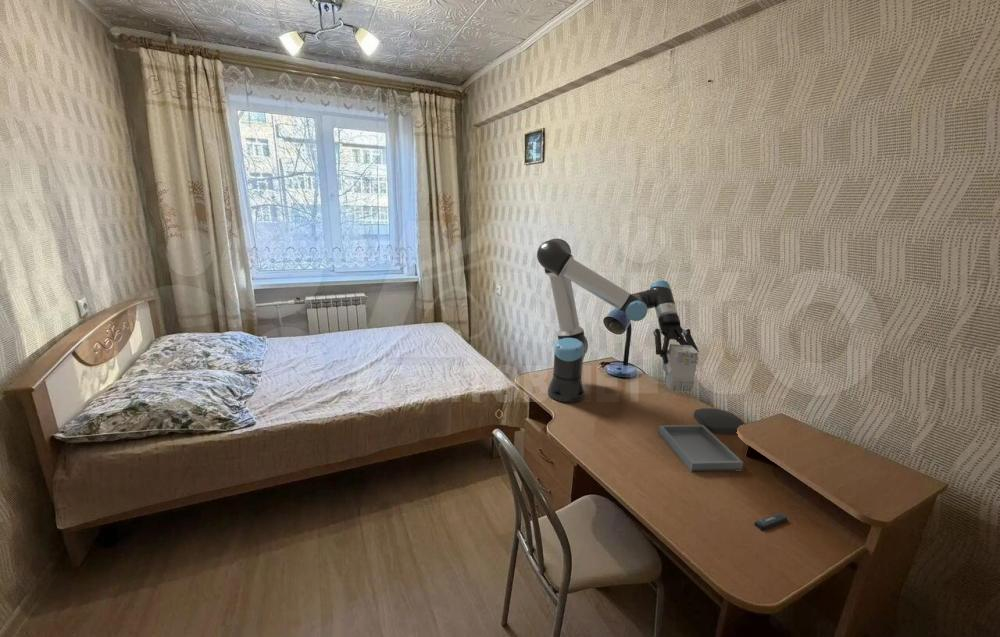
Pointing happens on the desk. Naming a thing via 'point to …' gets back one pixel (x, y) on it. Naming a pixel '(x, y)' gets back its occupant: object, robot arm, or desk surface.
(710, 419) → the media streaming box
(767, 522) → the usb stick
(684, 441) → the tray
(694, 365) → the circuit breaker
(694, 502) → the desk surface
